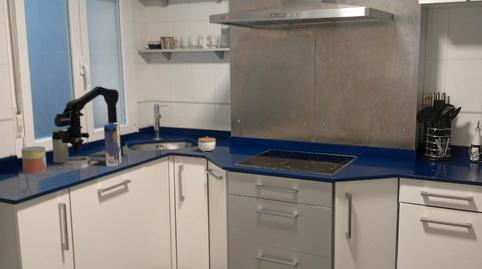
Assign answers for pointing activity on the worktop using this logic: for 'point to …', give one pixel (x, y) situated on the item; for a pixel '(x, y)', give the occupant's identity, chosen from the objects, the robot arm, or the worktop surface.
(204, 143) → the lidded jar
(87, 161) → the grey faceted ring
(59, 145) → the travel mug
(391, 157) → the worktop surface
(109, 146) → the beverage box
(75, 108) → the robot arm
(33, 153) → the canned food
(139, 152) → the worktop surface
